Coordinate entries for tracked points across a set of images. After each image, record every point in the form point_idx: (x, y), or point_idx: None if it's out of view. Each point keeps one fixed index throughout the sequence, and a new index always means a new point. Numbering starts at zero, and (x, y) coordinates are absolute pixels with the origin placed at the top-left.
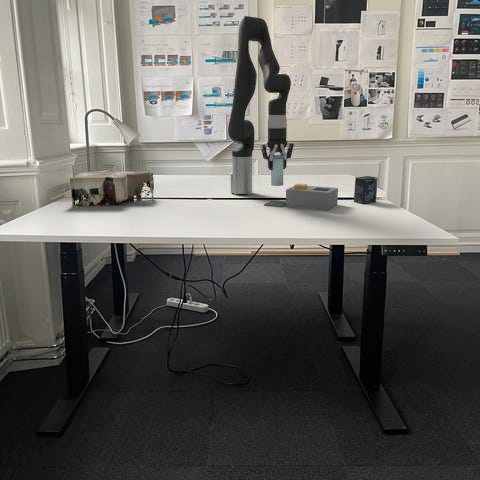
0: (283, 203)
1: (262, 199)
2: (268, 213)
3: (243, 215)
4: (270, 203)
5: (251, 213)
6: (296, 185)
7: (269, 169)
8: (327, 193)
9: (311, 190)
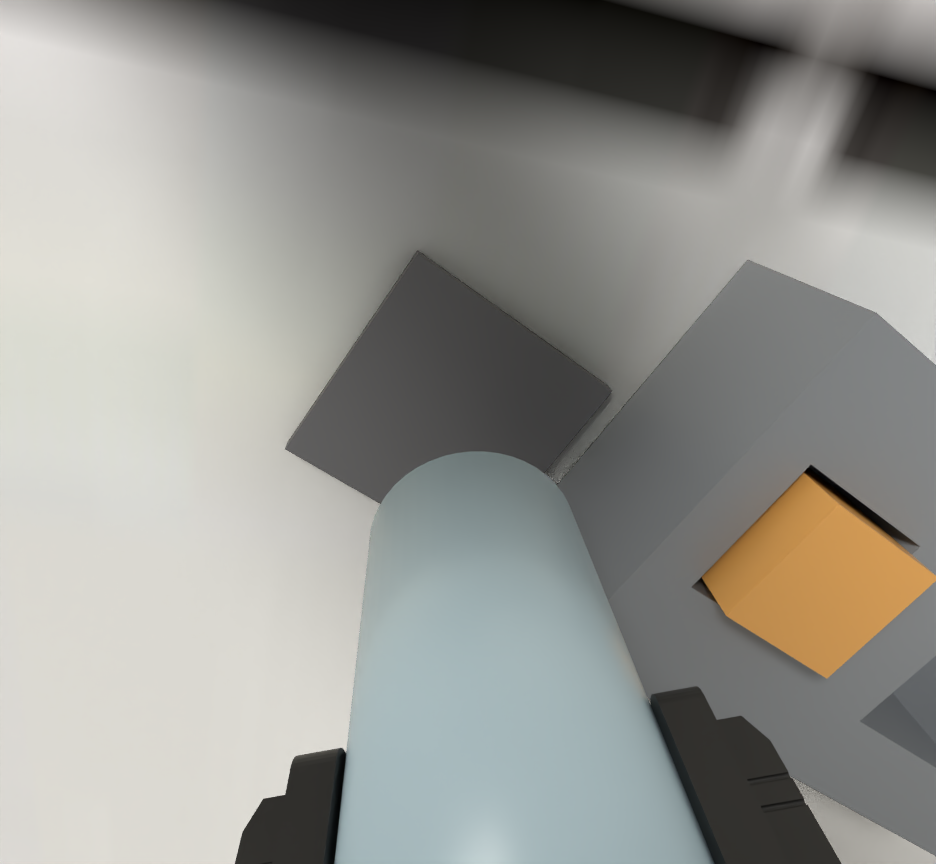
0: (526, 449)
1: (315, 12)
2: (298, 746)
3: (65, 783)
4: (373, 424)
5: (139, 731)
6: (748, 629)
7: (300, 763)
8: (926, 845)
9: (843, 739)
